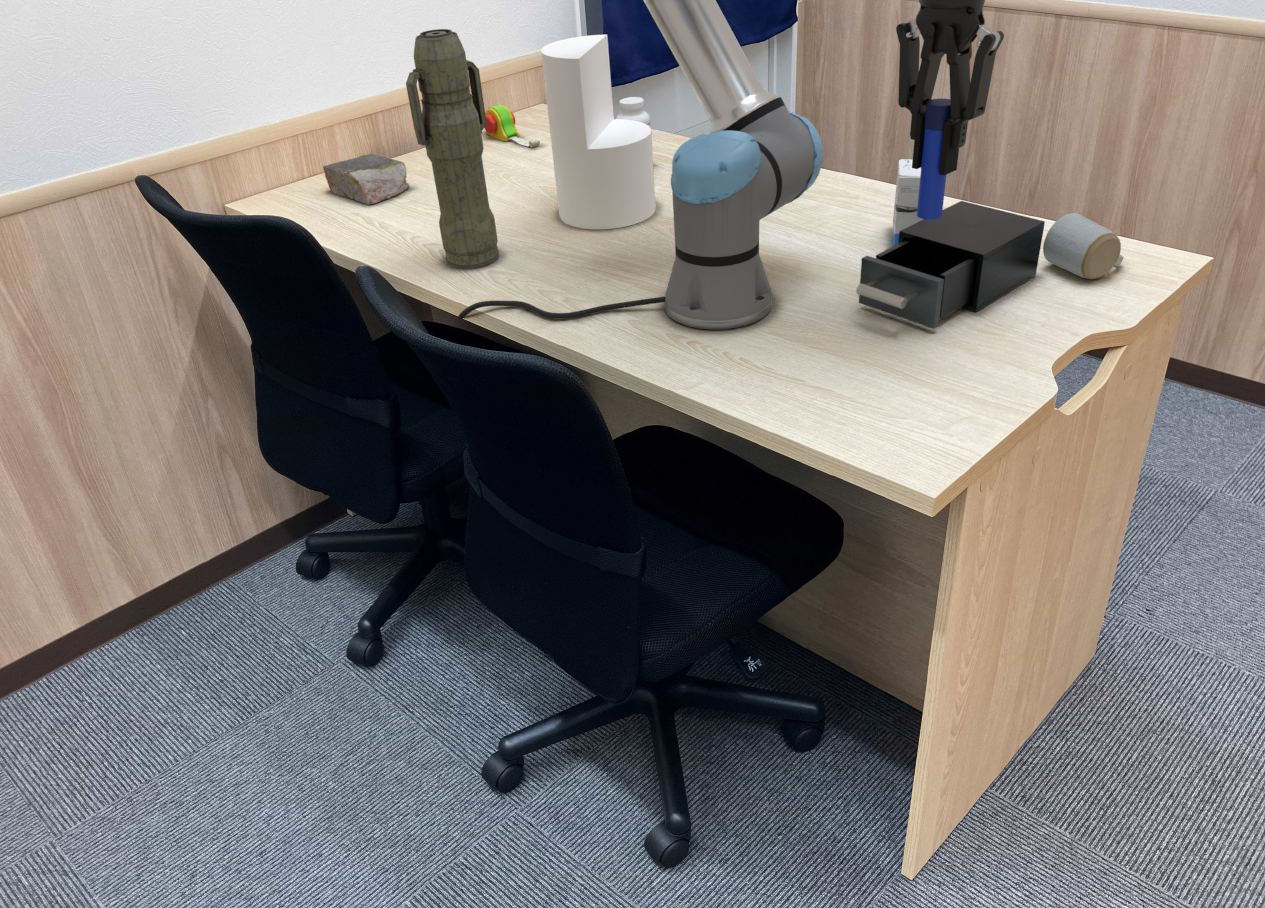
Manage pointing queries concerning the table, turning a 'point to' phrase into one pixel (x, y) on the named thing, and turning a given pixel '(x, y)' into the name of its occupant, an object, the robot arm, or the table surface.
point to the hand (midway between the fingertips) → (934, 168)
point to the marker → (933, 160)
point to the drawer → (918, 281)
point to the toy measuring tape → (504, 126)
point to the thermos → (454, 145)
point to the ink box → (905, 198)
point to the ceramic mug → (1082, 247)
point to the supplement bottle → (633, 110)
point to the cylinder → (594, 140)
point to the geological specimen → (367, 178)
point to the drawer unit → (985, 246)
